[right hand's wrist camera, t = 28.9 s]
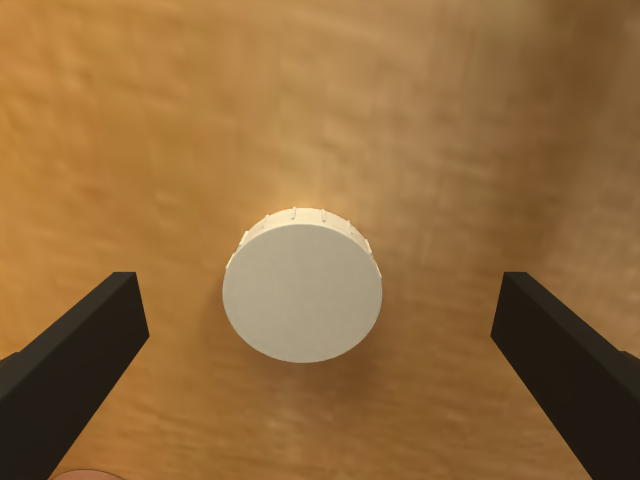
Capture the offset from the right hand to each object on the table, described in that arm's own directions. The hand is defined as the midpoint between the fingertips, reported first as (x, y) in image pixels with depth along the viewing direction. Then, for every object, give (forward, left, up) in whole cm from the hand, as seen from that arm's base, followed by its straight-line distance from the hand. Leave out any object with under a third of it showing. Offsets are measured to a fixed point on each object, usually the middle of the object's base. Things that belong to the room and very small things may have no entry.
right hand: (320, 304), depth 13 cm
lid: (+1, 0, -1) cm, 1 cm away
